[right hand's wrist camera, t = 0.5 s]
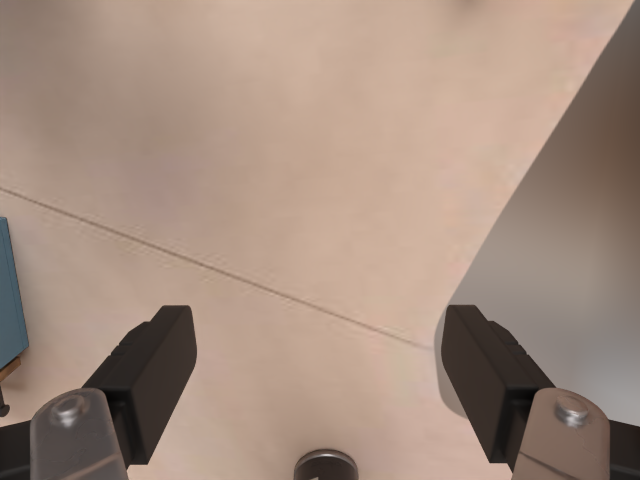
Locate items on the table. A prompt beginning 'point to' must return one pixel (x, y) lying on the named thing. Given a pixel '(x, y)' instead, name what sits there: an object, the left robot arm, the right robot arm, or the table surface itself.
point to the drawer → (3, 410)
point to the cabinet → (9, 303)
